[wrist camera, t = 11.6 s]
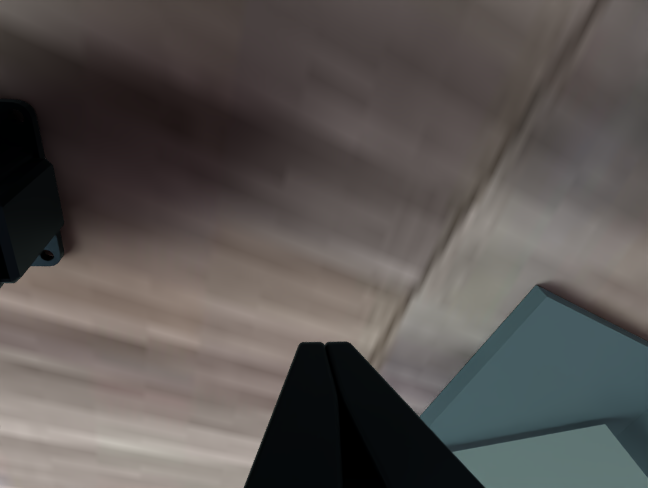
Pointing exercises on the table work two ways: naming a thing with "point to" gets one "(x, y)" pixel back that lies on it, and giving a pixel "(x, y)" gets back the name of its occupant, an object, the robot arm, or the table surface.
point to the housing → (548, 381)
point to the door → (556, 462)
